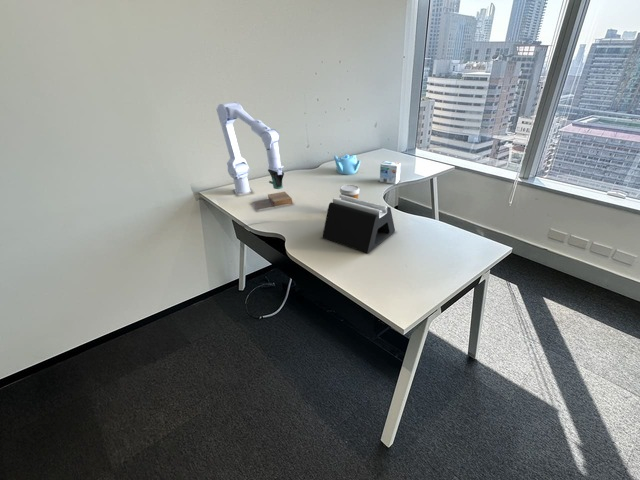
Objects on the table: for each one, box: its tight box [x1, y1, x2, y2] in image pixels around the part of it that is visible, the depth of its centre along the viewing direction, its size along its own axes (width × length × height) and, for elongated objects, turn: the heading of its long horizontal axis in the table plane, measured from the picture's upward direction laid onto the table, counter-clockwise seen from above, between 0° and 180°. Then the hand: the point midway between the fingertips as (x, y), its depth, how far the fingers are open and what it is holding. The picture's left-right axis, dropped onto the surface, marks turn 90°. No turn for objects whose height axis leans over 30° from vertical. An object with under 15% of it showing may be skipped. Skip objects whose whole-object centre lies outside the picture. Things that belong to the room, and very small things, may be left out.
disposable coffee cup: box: [339, 184, 361, 199], centre depth 158 cm, size 10×10×12 cm
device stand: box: [322, 194, 396, 254], centre depth 137 cm, size 22×22×15 cm
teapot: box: [333, 153, 362, 176], centre depth 209 cm, size 15×15×11 cm
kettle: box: [268, 177, 284, 190], centre depth 163 cm, size 7×5×5 cm
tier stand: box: [251, 191, 293, 211], centre depth 166 cm, size 11×18×3 cm, turn 120°
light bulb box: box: [379, 160, 401, 185], centre depth 195 cm, size 11×7×11 cm, turn 68°
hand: (277, 185), depth 164 cm, fingers closed on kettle, 5 cm apart
